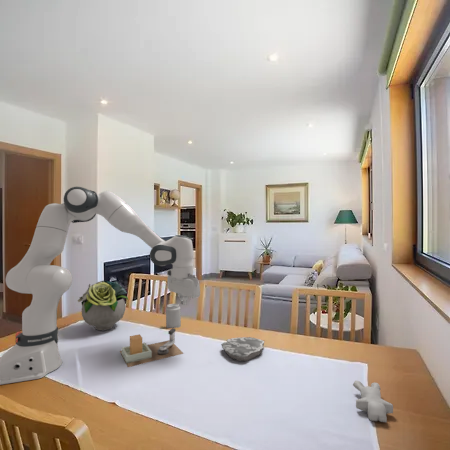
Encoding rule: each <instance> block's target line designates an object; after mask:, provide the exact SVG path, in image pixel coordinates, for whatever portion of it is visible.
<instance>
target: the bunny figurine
mask: <svg viewBox="0 0 450 450" xmlns="http://www.w3.org/2000/svg"><path fill="white" fill-rule="evenodd" d="M352 386H353V388H355V389H356V390H357V391H359V392H360V398H358V399H356V400H355V408H356V409H357V410H360V411H363V412H365V413H367V419H368V420H370V421H372V422H378V421H379V422H381V423H386V424H387V419H388V418H387V417H388V416H387V414H393V413H394V406H393V403H391V402H388V401H387V400H384V399H383V398H382V394H381V386H380V384H379V383H378V382H372V383H371V384H370V385H369V386H365V385H364V384H363V383H362V382H361V381H359V380H354V382H353V384H352Z"/></svg>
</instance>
